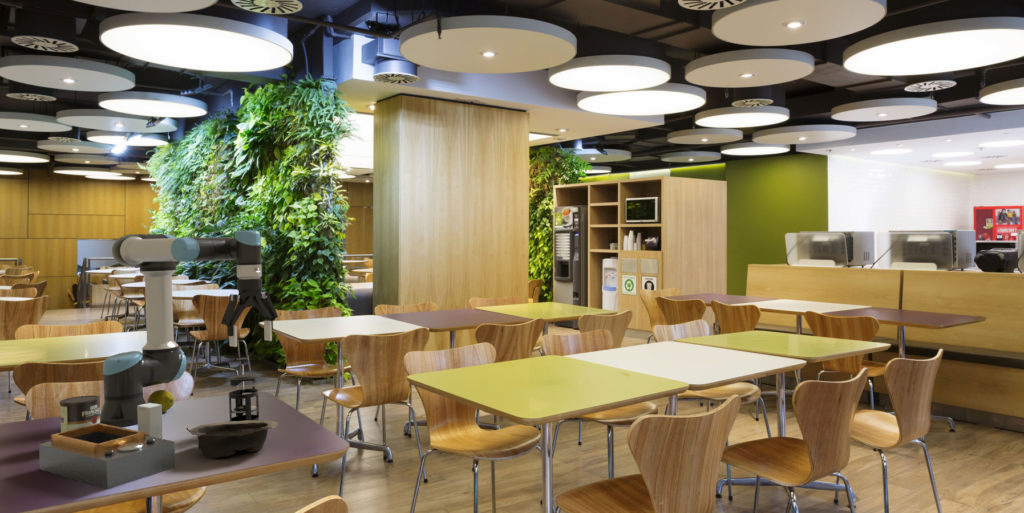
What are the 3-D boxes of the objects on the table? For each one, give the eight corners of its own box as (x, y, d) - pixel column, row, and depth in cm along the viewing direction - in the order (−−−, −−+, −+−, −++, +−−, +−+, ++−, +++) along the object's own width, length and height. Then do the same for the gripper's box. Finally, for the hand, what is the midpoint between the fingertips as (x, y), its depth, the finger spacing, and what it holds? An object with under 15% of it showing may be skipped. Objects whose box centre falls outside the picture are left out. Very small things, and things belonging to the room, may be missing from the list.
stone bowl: (198, 469, 177) (196, 434, 177) (181, 453, 197) (179, 422, 198) (291, 449, 192) (289, 417, 192) (266, 436, 212) (264, 407, 212)
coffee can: (109, 440, 206) (107, 395, 206) (81, 450, 196) (80, 403, 196) (81, 439, 208) (79, 394, 208) (52, 449, 198) (50, 402, 198)
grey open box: (39, 469, 180) (38, 436, 179) (107, 451, 195) (106, 420, 195) (107, 489, 164) (106, 452, 164) (175, 467, 180) (174, 434, 179)
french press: (264, 428, 216) (262, 358, 216) (234, 434, 210) (232, 362, 210) (253, 421, 226) (251, 354, 225) (224, 426, 220) (222, 357, 219)
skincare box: (137, 444, 201) (136, 405, 201) (151, 440, 205) (149, 402, 205) (150, 447, 198) (149, 407, 198) (163, 443, 202) (162, 404, 202)
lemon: (143, 412, 242) (143, 390, 242) (165, 407, 248) (165, 386, 248) (156, 416, 235) (156, 394, 235) (179, 412, 241) (178, 390, 241)
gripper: (223, 280, 203) (225, 349, 203) (287, 276, 224) (289, 338, 225) (207, 280, 206) (209, 348, 207) (272, 276, 228) (274, 337, 228)
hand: (251, 343), depth 216 cm, fingers open, 13 cm apart
